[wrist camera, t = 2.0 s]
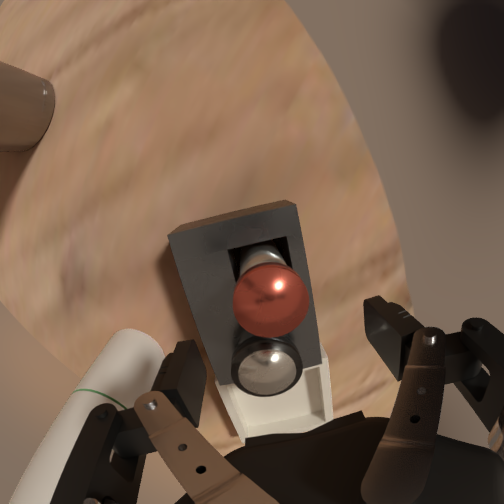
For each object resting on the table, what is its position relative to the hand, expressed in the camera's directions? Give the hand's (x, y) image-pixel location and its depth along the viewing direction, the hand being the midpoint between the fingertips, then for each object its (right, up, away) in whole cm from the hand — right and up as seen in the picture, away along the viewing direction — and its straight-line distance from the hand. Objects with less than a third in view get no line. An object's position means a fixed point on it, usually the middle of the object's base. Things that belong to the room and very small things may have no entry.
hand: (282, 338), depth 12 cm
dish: (+2, -13, +19) cm, 23 cm away
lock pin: (-1, +4, +14) cm, 15 cm away
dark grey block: (-1, +1, +15) cm, 15 cm away
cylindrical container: (-15, -8, +17) cm, 24 cm away
